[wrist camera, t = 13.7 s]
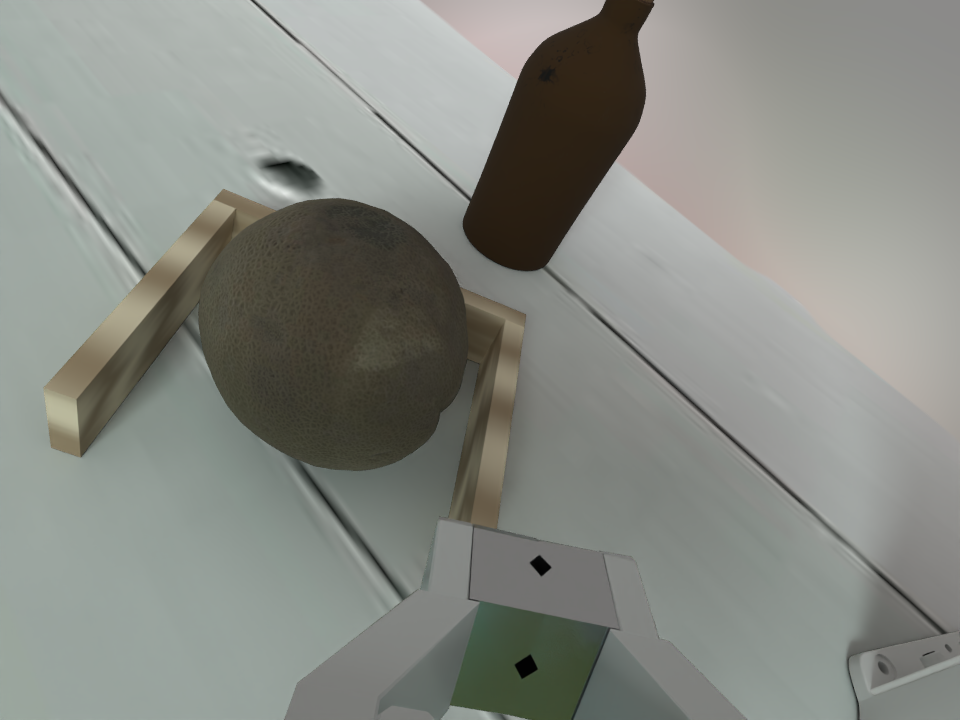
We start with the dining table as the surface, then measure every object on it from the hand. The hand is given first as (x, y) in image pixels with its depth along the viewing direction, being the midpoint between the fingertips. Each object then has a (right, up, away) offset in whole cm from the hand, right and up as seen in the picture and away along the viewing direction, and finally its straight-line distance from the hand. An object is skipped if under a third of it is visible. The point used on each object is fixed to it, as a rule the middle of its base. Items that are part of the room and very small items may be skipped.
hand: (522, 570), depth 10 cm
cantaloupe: (-11, -1, +31) cm, 33 cm away
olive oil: (+2, +15, +54) cm, 56 cm away
